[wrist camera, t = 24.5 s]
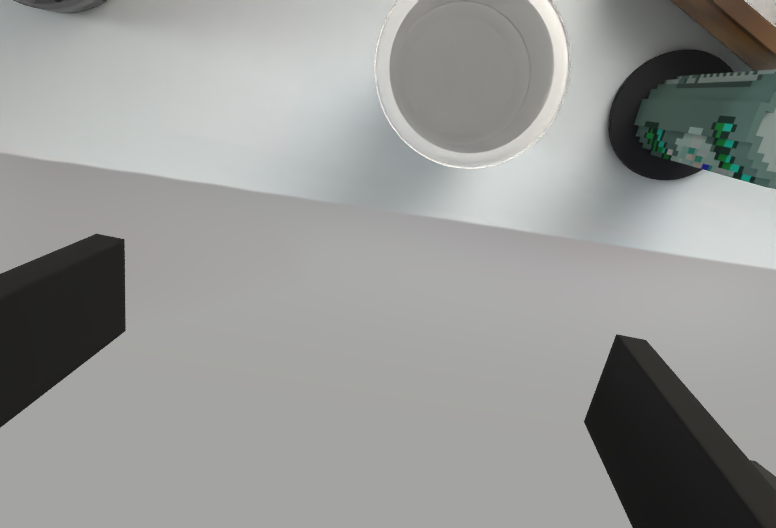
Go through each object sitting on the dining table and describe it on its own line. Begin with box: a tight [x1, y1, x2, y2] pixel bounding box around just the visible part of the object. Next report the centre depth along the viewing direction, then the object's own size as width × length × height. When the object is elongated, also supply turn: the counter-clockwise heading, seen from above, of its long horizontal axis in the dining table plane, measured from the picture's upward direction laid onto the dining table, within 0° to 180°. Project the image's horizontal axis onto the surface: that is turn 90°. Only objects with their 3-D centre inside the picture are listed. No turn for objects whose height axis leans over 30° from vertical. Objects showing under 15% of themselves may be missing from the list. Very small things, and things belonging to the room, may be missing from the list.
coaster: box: [609, 50, 733, 180], centre depth 40 cm, size 10×10×1 cm
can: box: [634, 69, 776, 189], centre depth 32 cm, size 6×6×15 cm
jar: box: [375, 0, 571, 169], centre depth 33 cm, size 11×10×15 cm
